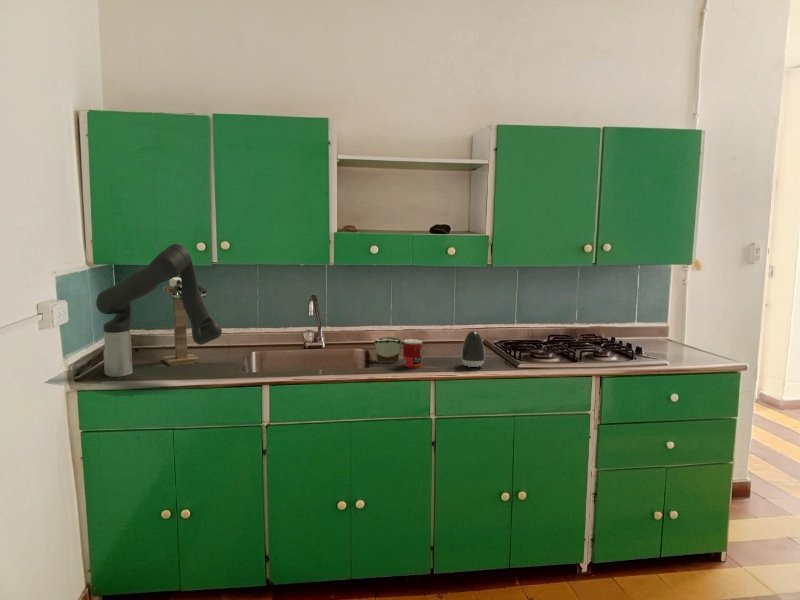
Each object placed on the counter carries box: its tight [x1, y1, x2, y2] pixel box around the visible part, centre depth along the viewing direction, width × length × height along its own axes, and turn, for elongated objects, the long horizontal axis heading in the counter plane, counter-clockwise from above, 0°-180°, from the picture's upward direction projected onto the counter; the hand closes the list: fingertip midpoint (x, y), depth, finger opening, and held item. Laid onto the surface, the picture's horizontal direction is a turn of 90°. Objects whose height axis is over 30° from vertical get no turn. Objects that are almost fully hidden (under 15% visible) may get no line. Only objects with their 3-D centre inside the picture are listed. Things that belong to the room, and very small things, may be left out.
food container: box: [373, 336, 403, 363], centre depth 250 cm, size 12×6×10 cm, turn 92°
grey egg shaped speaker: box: [460, 330, 486, 368], centre depth 240 cm, size 10×10×15 cm
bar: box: [169, 276, 182, 287], centre depth 239 cm, size 21×4×4 cm, turn 36°
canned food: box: [402, 338, 423, 369], centre depth 240 cm, size 8×8×11 cm
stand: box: [162, 285, 201, 367], centre depth 244 cm, size 12×12×32 cm
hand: (183, 281), depth 235 cm, fingers closed on bar, 3 cm apart
